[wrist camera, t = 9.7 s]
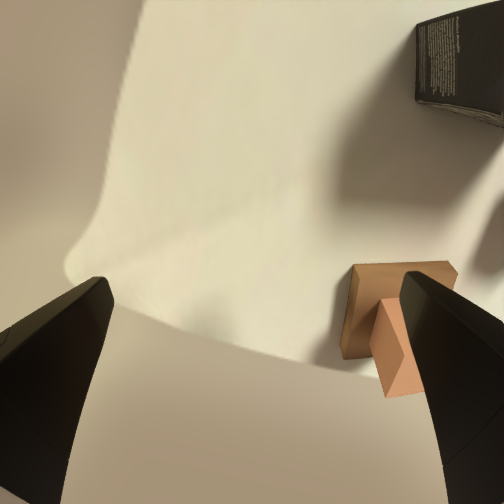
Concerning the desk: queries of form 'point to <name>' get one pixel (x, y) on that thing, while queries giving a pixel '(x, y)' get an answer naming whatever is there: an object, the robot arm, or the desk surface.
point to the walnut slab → (373, 290)
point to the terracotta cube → (394, 351)
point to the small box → (463, 62)
